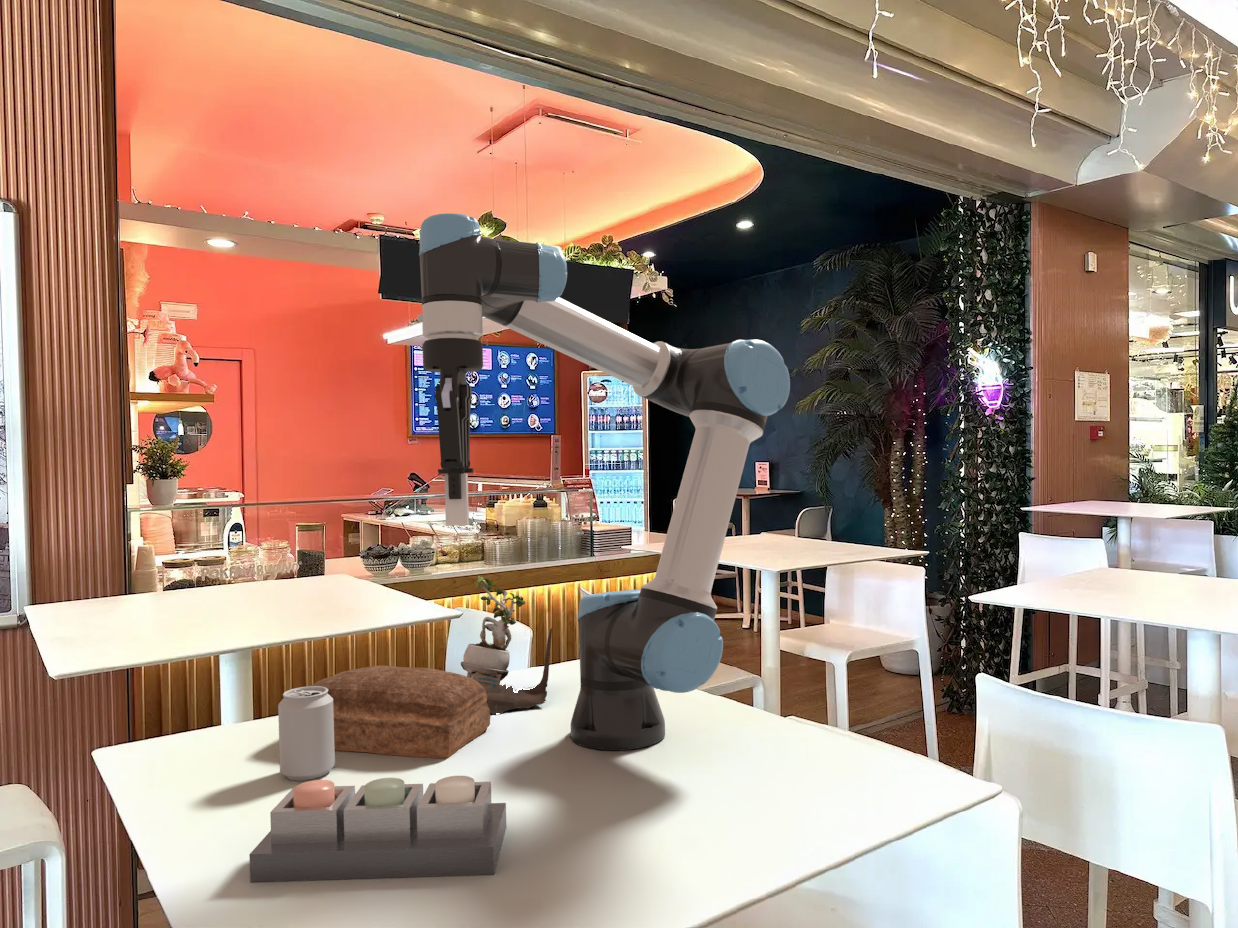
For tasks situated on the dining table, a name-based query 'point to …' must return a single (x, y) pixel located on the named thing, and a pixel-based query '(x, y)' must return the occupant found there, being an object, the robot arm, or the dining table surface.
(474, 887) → the dining table surface
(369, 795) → the button sage
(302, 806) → the button coral
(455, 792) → the button ivory
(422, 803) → the console
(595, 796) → the dining table surface
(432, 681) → the bread
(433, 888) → the dining table surface
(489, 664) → the potted plant
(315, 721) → the can
